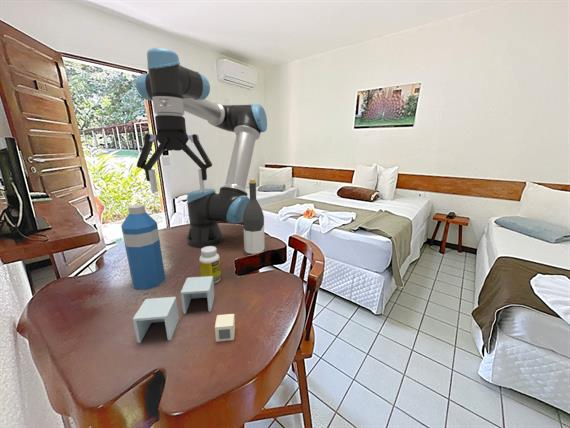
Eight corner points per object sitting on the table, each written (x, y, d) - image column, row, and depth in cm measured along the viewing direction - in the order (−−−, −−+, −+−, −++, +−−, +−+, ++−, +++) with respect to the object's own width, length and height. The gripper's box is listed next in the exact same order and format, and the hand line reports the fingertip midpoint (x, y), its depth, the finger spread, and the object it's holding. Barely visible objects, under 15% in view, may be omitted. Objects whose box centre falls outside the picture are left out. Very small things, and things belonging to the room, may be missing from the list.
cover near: (149, 321, 61) (145, 298, 59) (179, 318, 62) (176, 296, 60) (137, 343, 54) (132, 318, 52) (170, 340, 55) (166, 316, 53)
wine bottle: (245, 248, 102) (242, 177, 94) (265, 248, 102) (263, 177, 94) (243, 257, 94) (239, 180, 86) (264, 257, 95) (262, 180, 86)
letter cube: (218, 329, 59) (217, 315, 58) (235, 327, 59) (234, 313, 58) (215, 342, 55) (214, 327, 54) (234, 340, 55) (233, 326, 54)
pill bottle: (215, 286, 76) (213, 254, 72) (197, 284, 77) (194, 252, 74) (224, 276, 81) (222, 245, 78) (207, 274, 83) (204, 244, 79)
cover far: (189, 297, 70) (187, 277, 68) (214, 295, 71) (212, 276, 69) (183, 313, 64) (180, 292, 62) (211, 311, 64) (209, 290, 63)
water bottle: (171, 277, 80) (161, 204, 73) (145, 293, 72) (131, 212, 65) (152, 271, 84) (140, 201, 77) (125, 285, 76) (109, 208, 69)
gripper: (113, 112, 61) (128, 195, 68) (214, 115, 65) (220, 193, 71) (127, 115, 69) (139, 189, 75) (218, 117, 72) (222, 188, 78)
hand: (179, 191), depth 73 cm, fingers open, 13 cm apart
